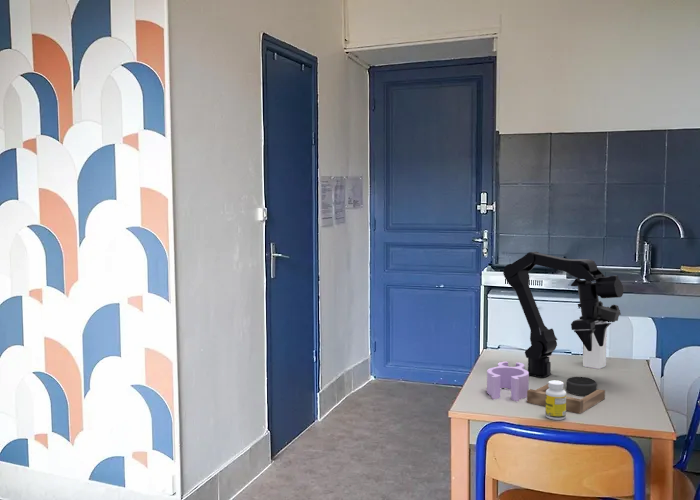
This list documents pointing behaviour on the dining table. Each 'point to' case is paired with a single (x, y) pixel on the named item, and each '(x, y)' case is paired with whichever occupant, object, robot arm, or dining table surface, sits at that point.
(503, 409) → the dining table surface
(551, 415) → the supplement bottle
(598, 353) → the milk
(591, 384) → the smart speaker
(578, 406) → the wooden tray
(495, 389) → the clip
